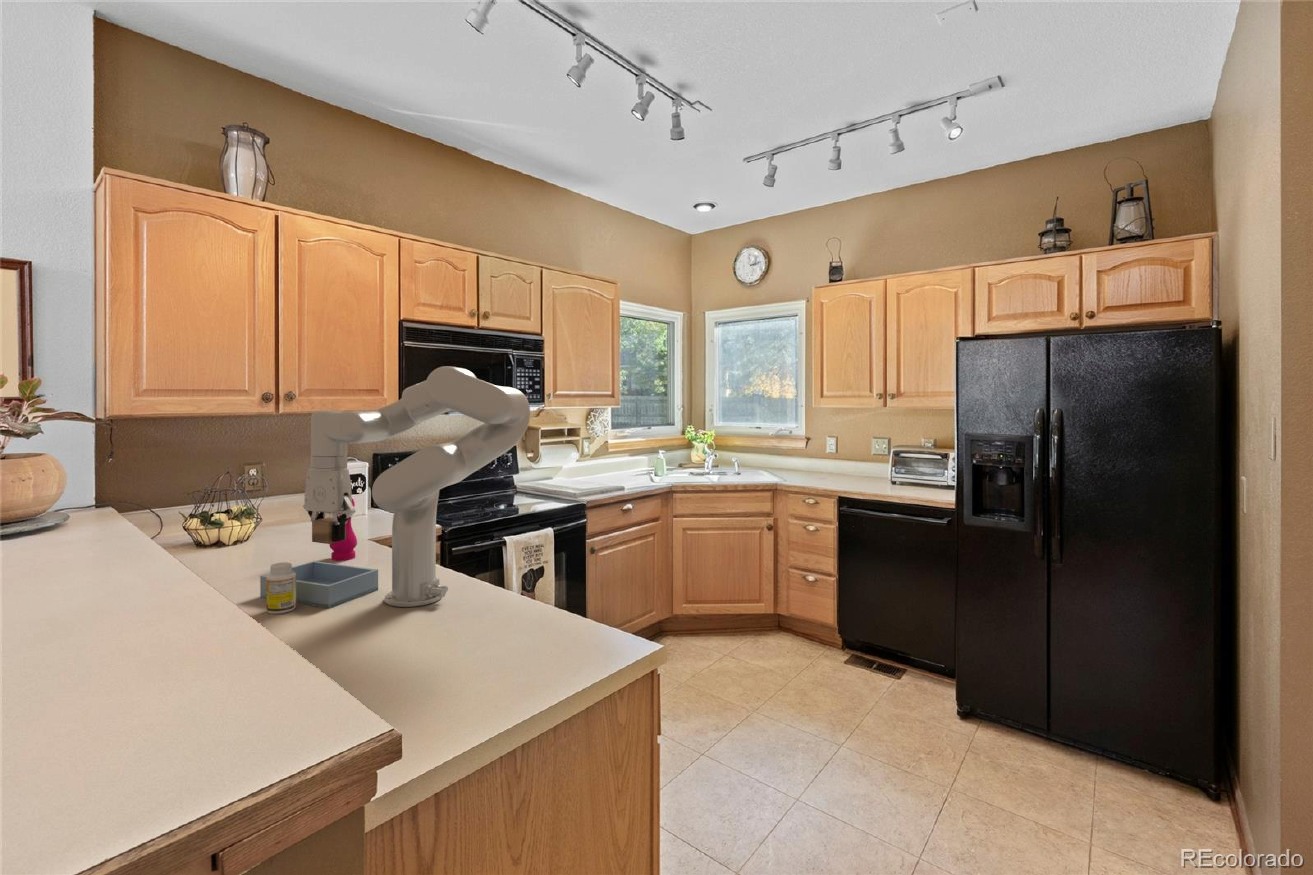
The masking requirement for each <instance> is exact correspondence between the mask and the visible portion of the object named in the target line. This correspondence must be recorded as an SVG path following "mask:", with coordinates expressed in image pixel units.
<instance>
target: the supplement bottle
mask: <svg viewBox="0 0 1313 875" xmlns="http://www.w3.org/2000/svg"><path fill="white" fill-rule="evenodd" d="M292 565H293V564H292V562H287V561H286V562H276V563H272V564H271V565H270V568H269V569H270V570H269V573H270V574H269V573H267V574H268V575H267V577H266V592H267V598H266V610H267V612H268V613H269V614H275V615H277V614H280V615H281V614H285V613H289V612H292V611H294V610H295V609H296V608H297V603H296V573H295V572H294V571H292V567H293V566H292Z"/></svg>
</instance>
